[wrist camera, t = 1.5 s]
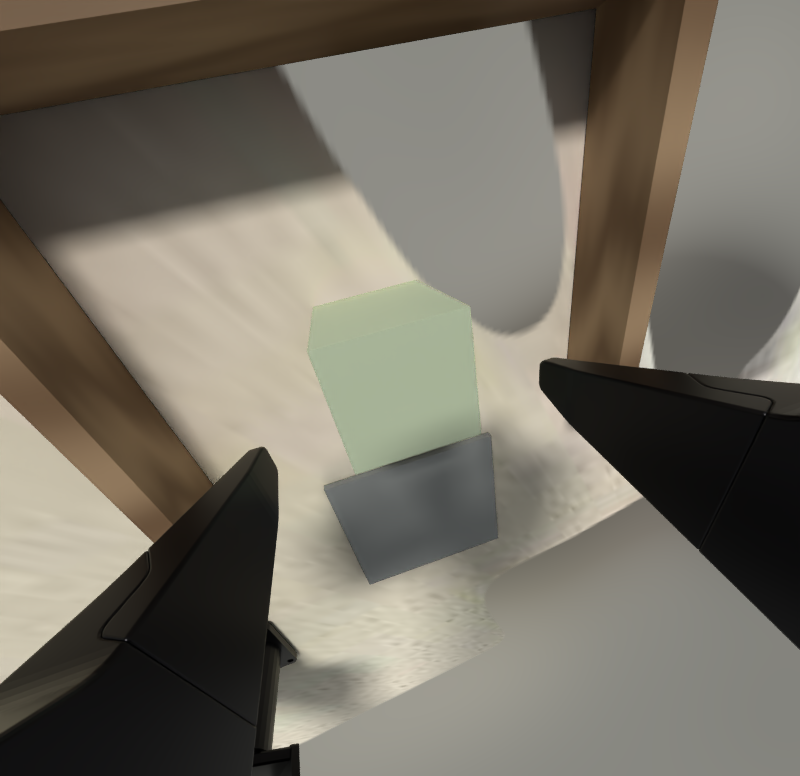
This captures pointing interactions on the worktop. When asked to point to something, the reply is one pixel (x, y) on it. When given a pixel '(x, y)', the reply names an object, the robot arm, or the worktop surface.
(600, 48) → the brown open-sided frame
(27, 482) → the worktop surface
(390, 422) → the sage block
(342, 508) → the slate mat
